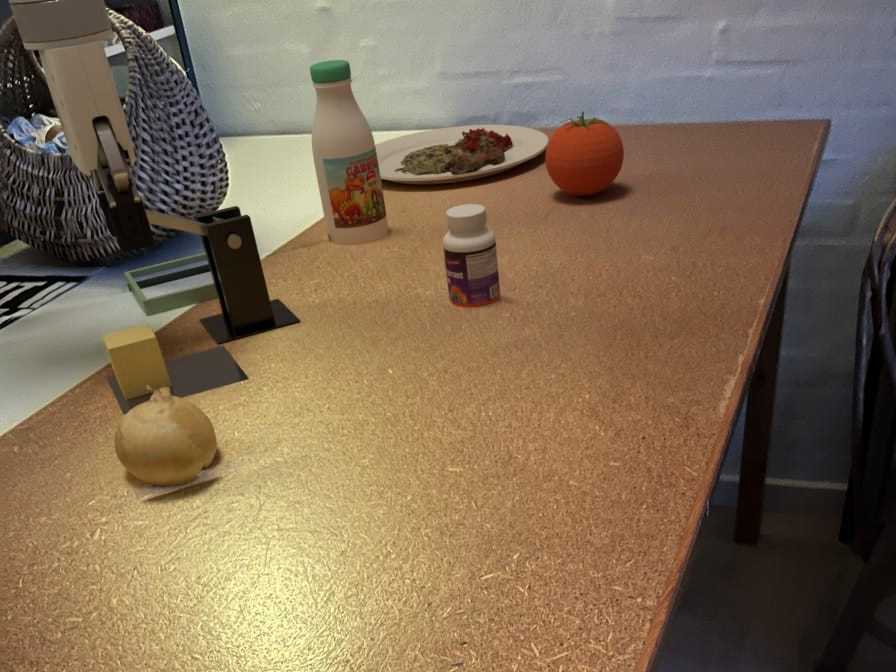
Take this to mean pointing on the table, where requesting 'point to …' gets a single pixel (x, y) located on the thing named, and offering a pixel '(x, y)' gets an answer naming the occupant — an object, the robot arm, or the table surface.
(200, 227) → the lever
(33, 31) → the robot arm
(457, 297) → the pill bottle
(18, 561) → the table surface
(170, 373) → the board
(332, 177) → the milk bottle
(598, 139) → the tomato
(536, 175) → the table surface
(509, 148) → the plated food
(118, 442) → the onion
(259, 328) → the black lever stand
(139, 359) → the yellow rectangular block
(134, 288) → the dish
